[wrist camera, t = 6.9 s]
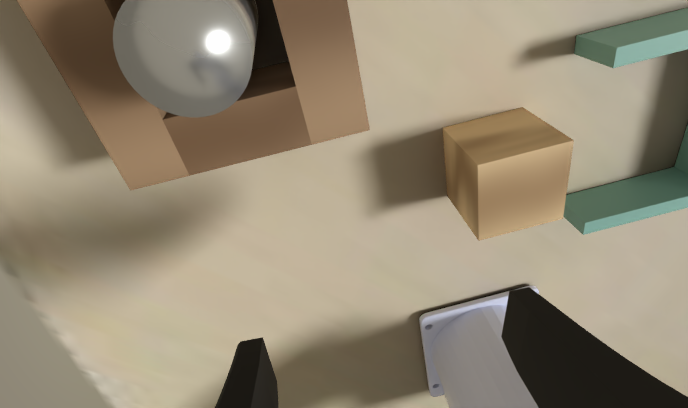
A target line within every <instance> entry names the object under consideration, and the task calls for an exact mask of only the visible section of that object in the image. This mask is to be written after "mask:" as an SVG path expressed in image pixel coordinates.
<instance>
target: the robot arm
mask: <svg viewBox="0 0 688 408" xmlns="http://www.w3.org/2000/svg"><path fill="white" fill-rule="evenodd" d="M419 322H420V330H421V337H422V344H423V351H424V358H425V365H426V372H427V379H428V386H429V392H430V394H431V396H433V397H437V396H441V395H445V397H446V400H447V403H448V405H449V408H688V397H687V396H685V395H683V394H681V393H680V392H678V391H676V390H675V389H673V388H671V387H670V386H668V385H666V384H665V383H663V382H661V381H660V380H658V379H657V378H655V377H653V376H652V375H650V374H649V373H647V372H646V371H644V370H643V369H641V368H639V367H638V366H636V365H635V364H633V363H632V362H630V361H629V360H627V359H626V358H624V357H623V356H621V355H620V354H619V353H617V352H616V351H614V350H613V349H611V348H610V347H608V346H607V345H606V344H604V343H603V342H602V341H600V340H599V339H597V338H596V337H595V336H593V335H592V334H591V333H589V332H588V331H586V330H585V329H584V328H582V327H581V326H580V325H578V324H577V323H576V322H574V321H573V320H572V319H570V318H569V317H568V316H566V315H565V314H564V313H562V312H561V311H560V310H559V309H557V308H556V307H555V306H553V305H552V304H551V303H549V302H548V301H547V300H546V299H544V298H543V297H542V296H540V295H539V290H538V289H537V288H536V287H535V286H533V285H531V286H526V287H522V288H519V289H515V290H511V291H507V292H503V293H500V294H496V295H492V296H488V297H484V298H481V299H477V300H473V301H469V302H465V303H461V304H458V305H454V306H450V307H446V308H442V309H439V310H435V311H431V312H427V313H424V314H422V315H421V316H420V318H419ZM215 408H278V392H277V380H276V377H275V374H274V371H273V368H272V365H271V362H270V359H269V356H268V353H267V349H266V346H265V343H264V340H263V338H257V339H252V340H247V341H242V342H240V343H239V344H238V346H237V349H236V352H235V356H234V359H233V362H232V365H231V368H230V371H229V373H228V376H227V379H226V381H225V384H224V387H223V389H222V392H221V394H220V397H219V399H218V402H217V404H216V406H215Z"/></svg>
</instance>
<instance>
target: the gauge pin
mask: <svg viewBox="0 0 688 408" xmlns="http://www.w3.org/2000/svg"><path fill="white" fill-rule="evenodd" d="M257 30H258V10H257V6H256V3H255V0H125V2H124V3H123V4H122V6H121V8H120V9H119V11H118V14H117V16H116V19H115V23H114V28H113V46H114V51H115V56H116V59H117V62H118V64H119V67H120V69H121V71H122V73H123V75H124V76H125V78H126V79H127V81H128V82H129V84H130V85H131V86H132V87H133V88H134V90H135V91H136V92H137V93H138V94H139V95H140V96H142V97H143V98H144V99H145V100H147V101H148V102H149V103H151V104H152V105H154V106H156V107H157V108H159V109H161V110H163V111H166V112H168V113H171V114H174V115H178V116H183V117H206V116H210V115H214V114H217V113H219V112H222V111H223V110H225V109H227V108H229V107H230V106H231V105H233V104H234V103H235V102H236V101H237V100H238V99H239V98H240V96H241V95H242V94H243V92H244V90H245V89H246V87H247V85H248V82H249V79H250V76H251V71H252V65H253V58H254V51H255V44H256V37H257Z"/></svg>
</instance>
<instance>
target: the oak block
mask: <svg viewBox="0 0 688 408" xmlns="http://www.w3.org/2000/svg"><path fill="white" fill-rule="evenodd" d="M443 140H444V155H445V170H446V185H447V196H448V198H449V199H450V200H451V202H452V203H453V205H454V206H455V207H456V209H457V210H458V212H459V213H460V215H461V216H462V217H463V219H464V220H465V222H466V223H467V225H468V226H469V227H470V229H471V230H472V232H473V233H474V235H475V236H476V237H477V239H478V240H483V239H487V238H491V237H494V236H498V235H502V234H506V233H510V232H514V231H517V230H521V229H525V228H529V227H533V226H536V225H540V224H544V223H548V222H552V221H556V220H559V219H563V215H564V208H565V200H566V193H567V186H568V178H569V171H570V164H571V156H572V149H573V142H574V140H572V139H571V138H569V137H568V136H566V135H565V134H563V133H562V132H560V131H558V130H557V129H555V128H554V127H552V126H551V125H549V124H548V123H546V122H545V121H543V120H541V119H540V118H538V117H537V116H535V115H534V114H532V113H531V112H529V111H528V110H526V109H524V108H523V107H522V108H518V109H514V110H510V111H506V112H502V113H498V114H494V115H491V116H487V117H483V118H479V119H475V120H471V121H467V122H463V123H459V124H456V125H452V126H448V127H444V128H443Z"/></svg>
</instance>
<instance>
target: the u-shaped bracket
mask: <svg viewBox="0 0 688 408" xmlns="http://www.w3.org/2000/svg"><path fill="white" fill-rule="evenodd" d="M687 49H688V8H685V9H681V10H677V11H673V12H669V13H665V14H661V15H657V16H653V17H649V18H645V19H641V20H637V21H633V22H629V23H625V24H621V25H617V26H613V27H609V28H605V29H601V30H597V31H593V32H589V33H585V34H581V35H577V36H576V44H575V52H574V54H576V55H578V56H581V57H584V58H587V59H589V60H592V61H595V62H598V63H601V64H603V65H606V66H609V67H612V68H616V67H620V66H624V65H627V64H631V63H635V62H639V61H643V60H647V59H651V58H655V57H659V56H663V55H667V54H671V53H675V52H679V51H683V50H687ZM684 208H688V124H687V127H686V131H685V134H684V137H683V140H682V144H681V147H680V150H679V153H678V157H677V160H676V163H675V166H674V167H672V168H668V169H664V170H661V171H657V172H653V173H649V174H645V175H641V176H637V177H634V178H630V179H626V180H622V181H618V182H614V183H610V184H606V185H603V186H599V187H595V188H591V189H587V190H583V191H579V192H576V193H572V194H568V195H566V200H565V208H564V215H563V217H565V218H566V219H567V220H568V221H569V222H570V223H571V224H572V225H573V226H574V227H575V228H576V229H578V230H579V231H580V232H581V233H582V234H583V235H584V234H588V233H592V232H596V231H599V230H603V229H607V228H611V227H615V226H619V225H622V224H626V223H630V222H634V221H638V220H642V219H645V218H649V217H653V216H657V215H661V214H665V213H668V212H672V211H676V210H680V209H684Z"/></svg>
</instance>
